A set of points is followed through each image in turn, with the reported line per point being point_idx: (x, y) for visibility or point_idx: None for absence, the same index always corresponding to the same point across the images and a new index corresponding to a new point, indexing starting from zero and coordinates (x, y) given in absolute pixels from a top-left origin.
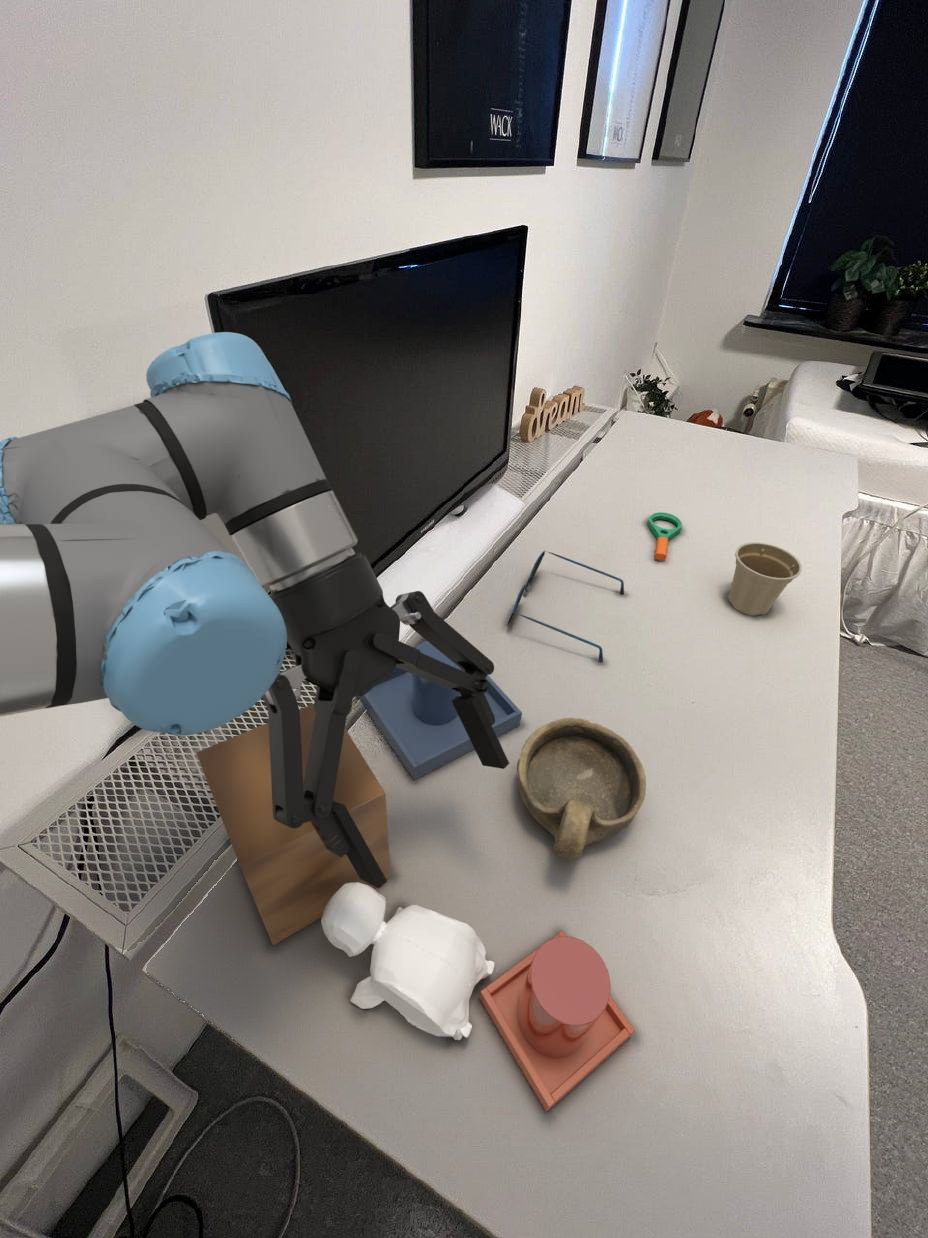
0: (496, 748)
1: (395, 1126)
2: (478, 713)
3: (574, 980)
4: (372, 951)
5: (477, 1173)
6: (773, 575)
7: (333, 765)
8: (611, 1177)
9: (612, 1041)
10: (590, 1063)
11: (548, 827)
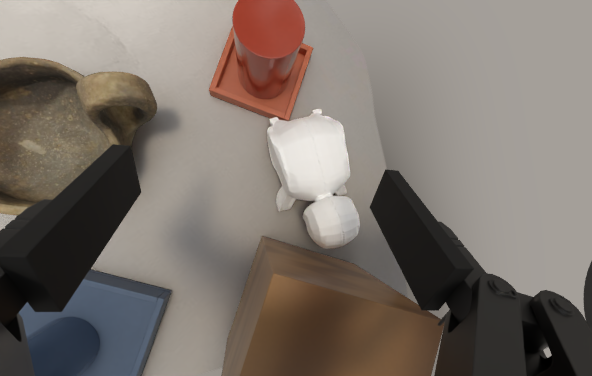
0: (105, 165)
1: (370, 127)
2: (51, 225)
3: (268, 18)
4: (333, 193)
5: (356, 76)
6: None
7: (489, 357)
8: (310, 10)
9: None
10: None
11: (129, 141)
